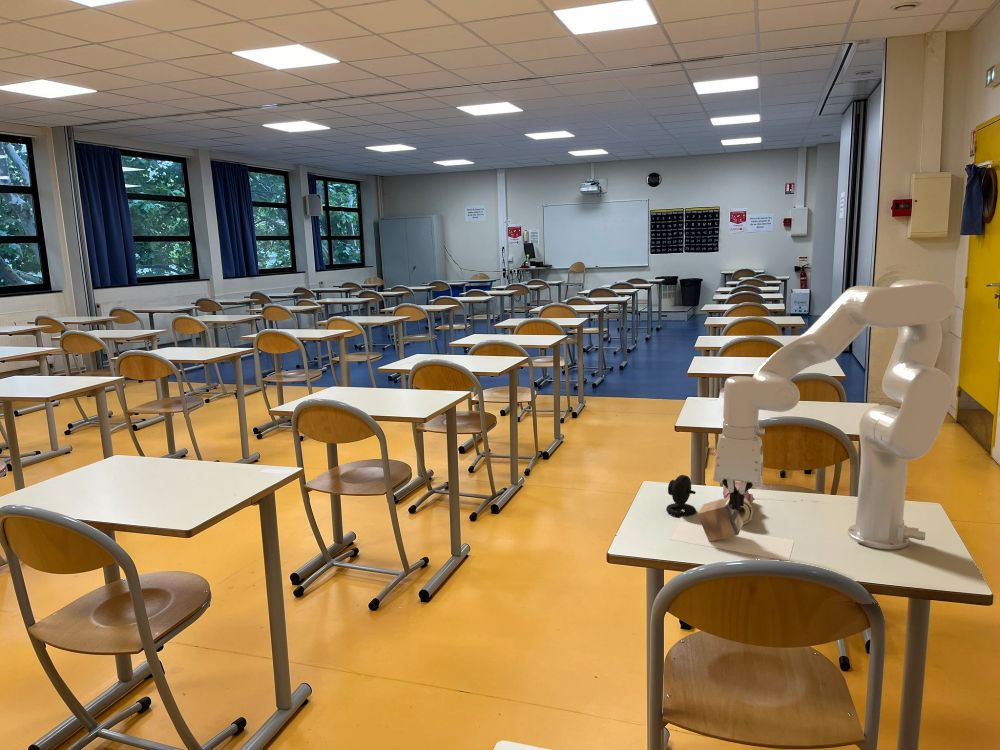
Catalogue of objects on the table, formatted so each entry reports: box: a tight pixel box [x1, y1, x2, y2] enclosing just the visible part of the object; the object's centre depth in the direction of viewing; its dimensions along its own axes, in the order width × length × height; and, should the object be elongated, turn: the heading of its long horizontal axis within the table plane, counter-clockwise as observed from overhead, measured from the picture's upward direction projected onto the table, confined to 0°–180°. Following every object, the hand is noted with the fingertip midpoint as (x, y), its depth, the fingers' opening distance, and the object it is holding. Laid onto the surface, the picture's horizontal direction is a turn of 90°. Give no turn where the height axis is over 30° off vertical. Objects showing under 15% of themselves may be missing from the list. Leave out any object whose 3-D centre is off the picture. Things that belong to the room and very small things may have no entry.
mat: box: [669, 521, 795, 561], centre depth 164 cm, size 26×12×1 cm, turn 62°
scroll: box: [722, 480, 756, 525], centre depth 181 cm, size 8×8×20 cm
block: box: [696, 497, 744, 542], centre depth 165 cm, size 7×7×7 cm
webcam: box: [665, 474, 697, 518], centre depth 182 cm, size 8×8×10 cm
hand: (736, 508), depth 163 cm, fingers closed
